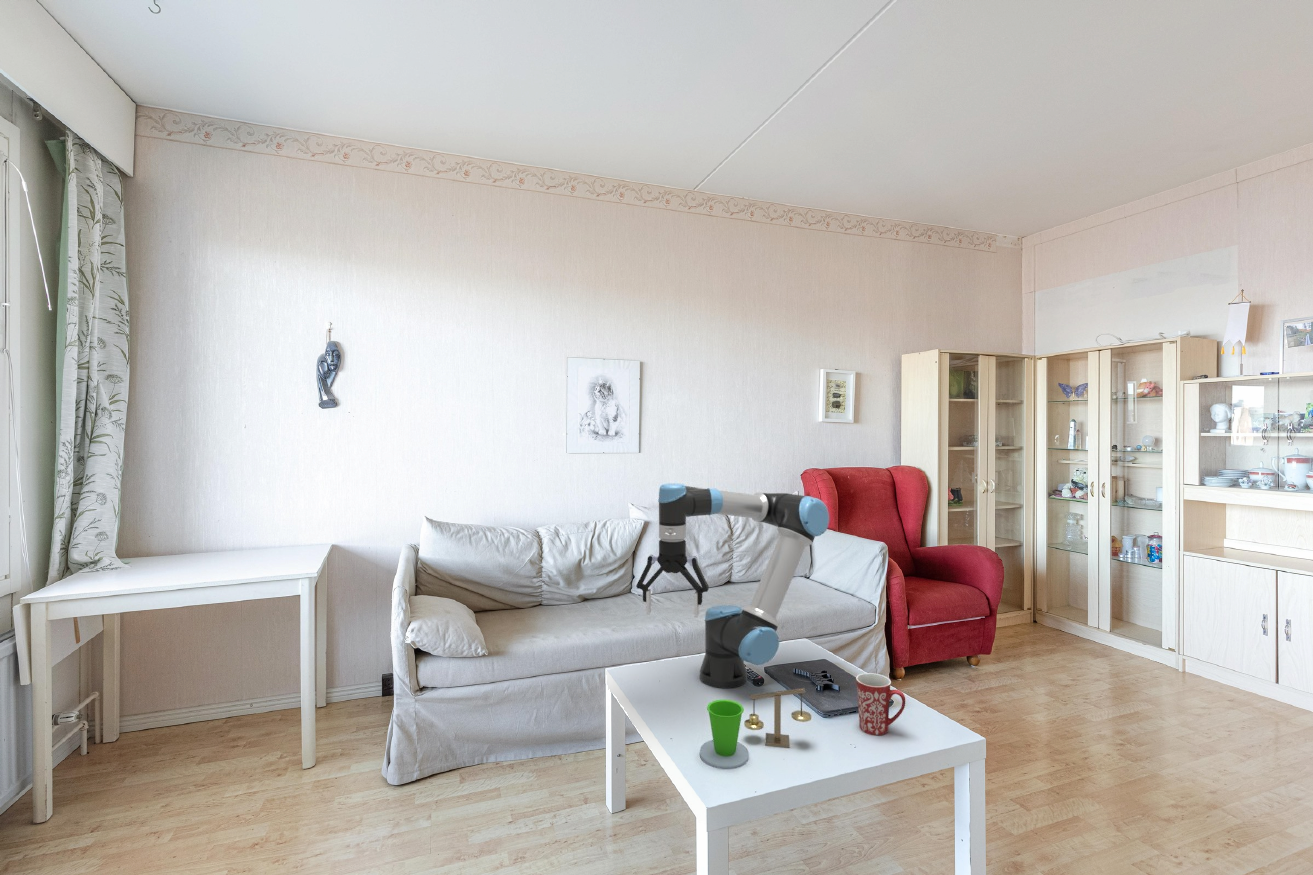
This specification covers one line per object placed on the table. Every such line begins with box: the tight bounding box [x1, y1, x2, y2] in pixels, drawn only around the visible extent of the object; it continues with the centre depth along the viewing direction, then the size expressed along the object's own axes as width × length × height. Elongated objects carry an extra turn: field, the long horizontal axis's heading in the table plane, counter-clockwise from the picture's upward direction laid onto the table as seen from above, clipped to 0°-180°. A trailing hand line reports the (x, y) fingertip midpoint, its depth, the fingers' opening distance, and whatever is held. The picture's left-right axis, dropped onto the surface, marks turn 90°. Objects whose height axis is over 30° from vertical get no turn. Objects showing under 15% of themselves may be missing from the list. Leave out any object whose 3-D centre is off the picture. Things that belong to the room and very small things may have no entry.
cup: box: [706, 699, 744, 757], centre depth 154 cm, size 9×9×11 cm
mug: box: [855, 672, 906, 736], centre depth 167 cm, size 13×9×14 cm
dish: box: [699, 739, 750, 770], centre depth 155 cm, size 12×12×1 cm
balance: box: [743, 687, 812, 749], centre depth 161 cm, size 17×5×14 cm, turn 79°
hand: (672, 614), depth 175 cm, fingers open, 13 cm apart
